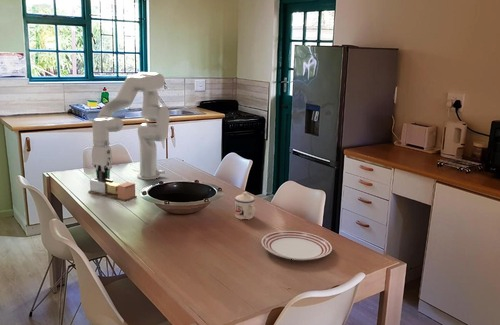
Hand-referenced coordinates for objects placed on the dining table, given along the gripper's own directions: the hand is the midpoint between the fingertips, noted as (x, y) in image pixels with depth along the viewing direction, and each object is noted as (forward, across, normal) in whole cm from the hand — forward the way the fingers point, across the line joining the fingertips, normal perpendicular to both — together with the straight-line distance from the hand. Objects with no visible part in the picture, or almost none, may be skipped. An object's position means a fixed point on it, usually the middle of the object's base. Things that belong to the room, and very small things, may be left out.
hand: (102, 178), depth 240 cm
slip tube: (+6, -4, 0) cm, 7 cm away
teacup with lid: (+8, -78, -11) cm, 79 cm away
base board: (+8, -6, 0) cm, 10 cm away
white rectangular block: (+7, 0, 0) cm, 7 cm away
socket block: (+8, -16, 0) cm, 18 cm away
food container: (+8, +12, -14) cm, 20 cm away
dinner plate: (+8, -111, +9) cm, 112 cm away
